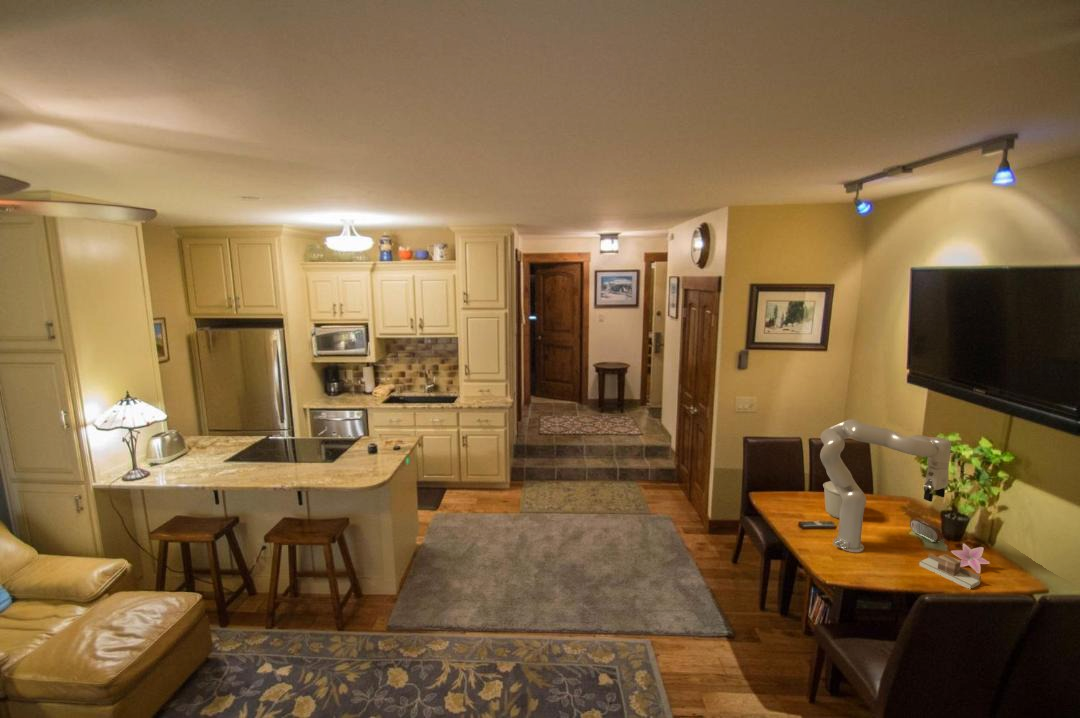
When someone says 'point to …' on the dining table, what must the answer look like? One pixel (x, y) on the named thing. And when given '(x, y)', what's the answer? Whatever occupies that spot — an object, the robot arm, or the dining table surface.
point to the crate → (949, 564)
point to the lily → (971, 557)
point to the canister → (832, 499)
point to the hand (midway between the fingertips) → (933, 498)
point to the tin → (926, 529)
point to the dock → (963, 578)
